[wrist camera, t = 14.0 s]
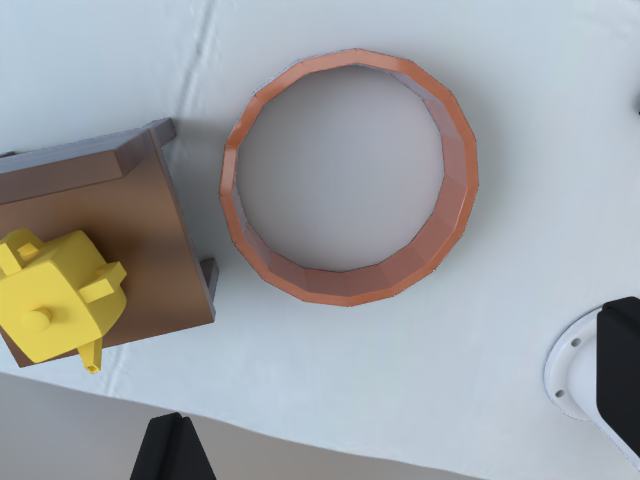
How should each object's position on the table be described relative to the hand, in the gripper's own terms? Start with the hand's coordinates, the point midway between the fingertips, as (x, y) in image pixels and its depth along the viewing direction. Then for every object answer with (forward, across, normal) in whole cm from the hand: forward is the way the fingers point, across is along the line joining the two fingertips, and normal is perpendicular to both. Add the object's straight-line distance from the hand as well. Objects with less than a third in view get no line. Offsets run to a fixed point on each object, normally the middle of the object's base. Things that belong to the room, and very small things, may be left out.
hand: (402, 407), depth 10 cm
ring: (+24, -2, +1) cm, 24 cm away
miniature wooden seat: (+24, +14, 0) cm, 28 cm away
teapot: (+17, +14, +1) cm, 22 cm away
